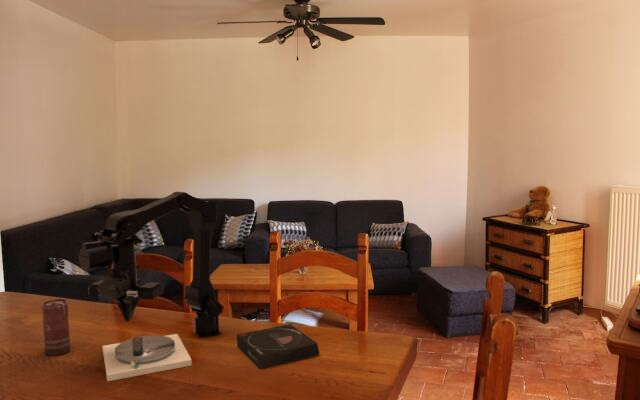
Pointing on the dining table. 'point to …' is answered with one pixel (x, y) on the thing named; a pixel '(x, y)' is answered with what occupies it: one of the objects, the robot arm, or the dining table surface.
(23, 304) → the dining table surface
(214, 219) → the robot arm
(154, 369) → the board
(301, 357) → the portable cd player
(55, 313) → the can
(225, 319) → the dining table surface
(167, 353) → the dial
